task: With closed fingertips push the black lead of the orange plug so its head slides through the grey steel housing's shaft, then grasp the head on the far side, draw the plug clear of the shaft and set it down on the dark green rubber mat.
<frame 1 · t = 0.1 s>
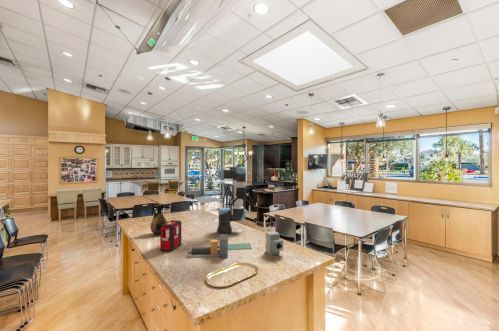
hand: (240, 214, 179), 28 cm above the counter, fingers open, 13 cm apart
housing: (223, 253, 171), on the counter
circuit breaker: (274, 254, 171), on the counter
gold oval ring: (232, 276, 138), on the counter
mat: (238, 246, 186), on the counter
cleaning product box: (171, 248, 183), on the counter
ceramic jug: (158, 234, 219), on the counter
plug: (214, 254, 170), on the counter
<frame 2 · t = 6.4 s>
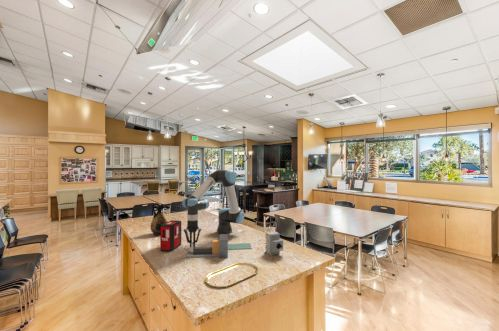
hand: (192, 251, 169), 2 cm above the counter, fingers closed
plug: (215, 254, 170), on the counter, touching gripper
everything else where it was.
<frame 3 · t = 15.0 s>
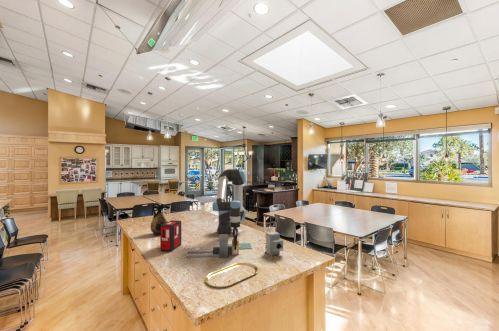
hand: (235, 252, 172), 1 cm above the counter, fingers closed on plug, 5 cm apart
plug: (235, 253, 172), on the counter, touching gripper
everything else where it was.
when the fingers open (2 cm above the counter, at t = 22.8 s): plug drops 1 cm, resting on mat.
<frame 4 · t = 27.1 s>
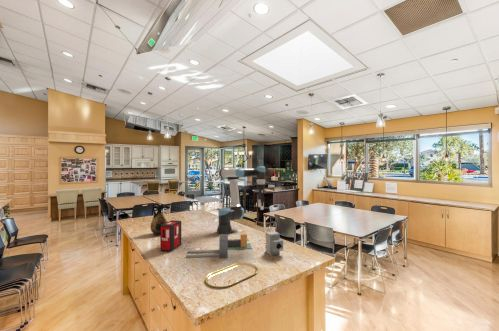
hand: (260, 208, 200), 29 cm above the counter, fingers open, 13 cm apart
plug: (243, 245, 187), resting on mat
everything else where it was.
at the end: plug inside the target area (0.0 cm from its centre), resting on mat; plug tilted 0°; the gripper is holding nothing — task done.
